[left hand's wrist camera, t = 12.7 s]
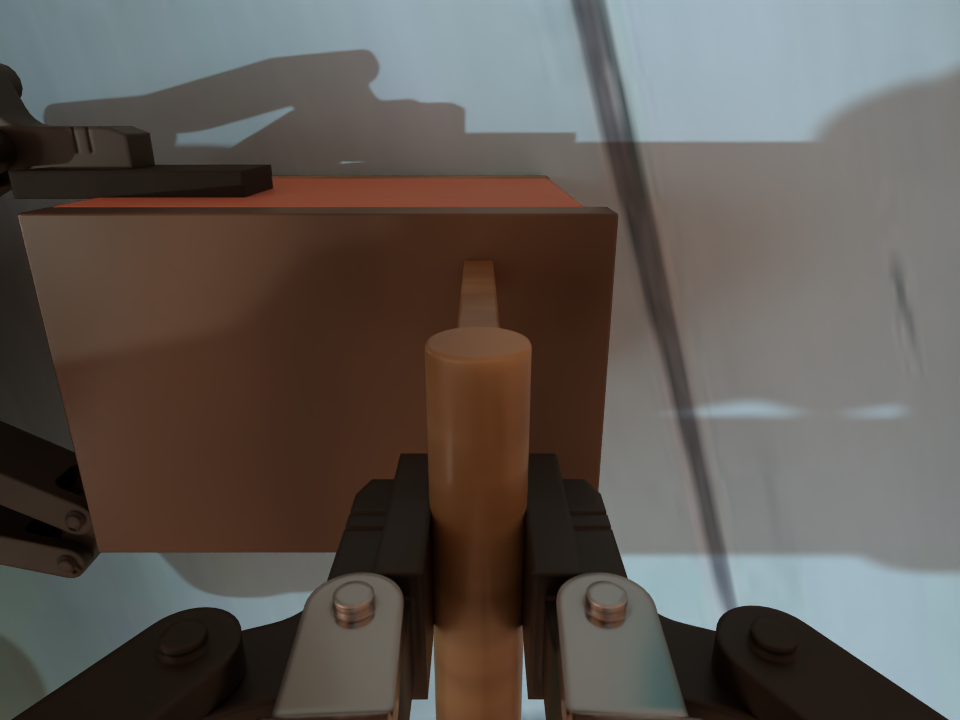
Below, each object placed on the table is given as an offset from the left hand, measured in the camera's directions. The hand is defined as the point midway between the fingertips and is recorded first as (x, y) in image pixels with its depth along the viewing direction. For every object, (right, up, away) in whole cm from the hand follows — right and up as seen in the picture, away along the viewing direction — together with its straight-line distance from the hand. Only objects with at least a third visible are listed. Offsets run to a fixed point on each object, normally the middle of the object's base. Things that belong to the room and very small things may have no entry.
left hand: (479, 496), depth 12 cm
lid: (-4, +2, +6) cm, 7 cm away
